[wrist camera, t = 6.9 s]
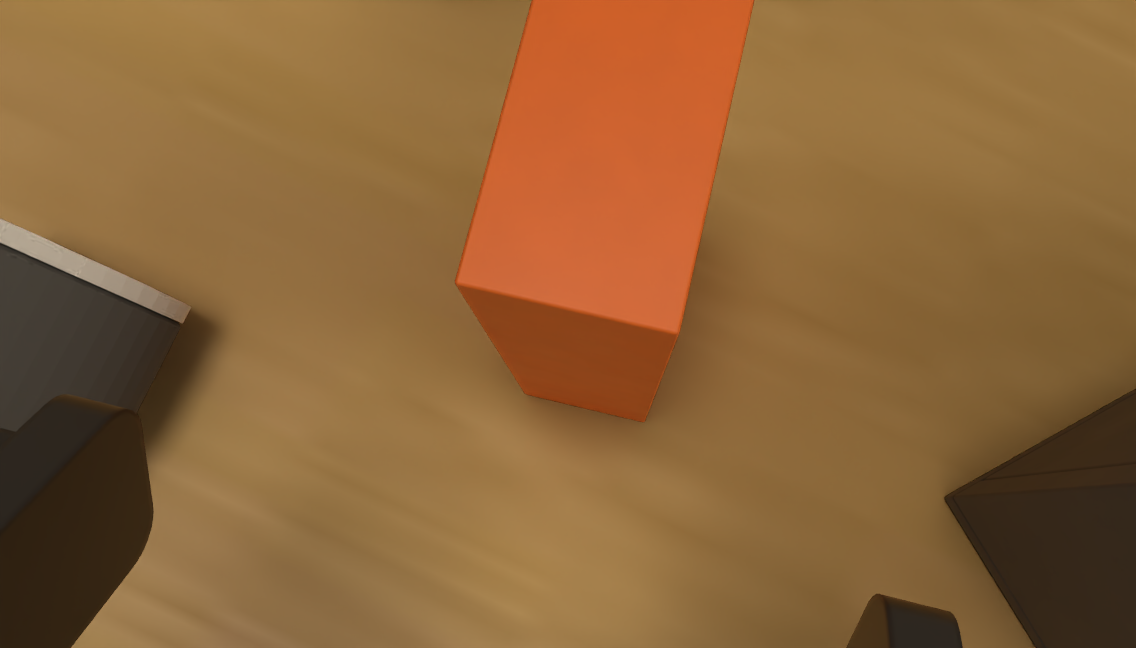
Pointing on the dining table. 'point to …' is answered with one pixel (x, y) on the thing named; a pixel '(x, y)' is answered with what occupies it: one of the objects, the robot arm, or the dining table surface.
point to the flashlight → (75, 328)
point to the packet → (601, 193)
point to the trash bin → (1064, 531)
